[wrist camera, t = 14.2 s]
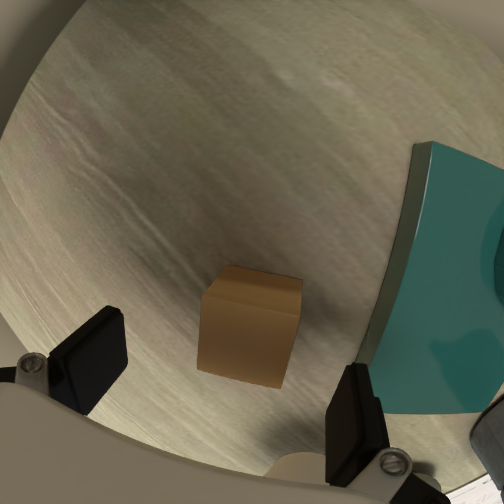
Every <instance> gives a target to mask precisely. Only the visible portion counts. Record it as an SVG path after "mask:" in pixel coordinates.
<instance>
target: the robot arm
mask: <svg viewBox="0 0 504 504" xmlns="http://www.w3.org/2000/svg"><path fill="white" fill-rule="evenodd" d="M49 355H50V356H49V357H48V358H46V356H44V355H43V354H41V353H35V352H33V353H28V354H25V355H24V356H22V357H21V358H20V359H19V360H18V363H17V366H16V367H3V368H0V504H451V502H450V500H449V498H448V497H447V496H446V495H445V494H443V493H441V492H440V491H438V490H437V489H435V488H434V487H432V486H431V485H429V484H428V483H426V482H425V481H423V480H422V479H420V478H419V477H418V476H416V475H415V474H413V473H412V472H411V470H412V466H413V463H412V460H411V458H410V456H409V455H408V454H407V453H406V452H405V451H403V450H401V449H399V448H394V447H391V448H390V443H389V438H388V433H387V428H386V423H385V418H384V414H383V409H382V405H381V401H380V398H379V397H374V393H373V388H372V384H371V380H370V375H369V371H368V367H367V364H364V363H356V362H352V364H351V365H347V366H346V368H345V370H344V372H343V375H342V377H341V379H340V382H339V384H338V386H337V389H336V391H335V393H334V395H333V397H332V400H331V402H330V404H329V406H328V408H327V411H326V415H325V482H326V483H329V486H327V485H319V484H311V483H302V482H294V481H287V480H280V479H274V478H268V477H262V476H257V475H252V474H247V473H242V472H237V471H233V470H228V469H224V468H220V467H216V466H212V465H209V464H205V463H202V462H198V461H195V460H191V459H188V458H185V457H182V456H179V455H175V454H172V453H170V452H167V451H164V450H161V449H158V448H155V447H153V446H150V445H148V444H145V443H142V442H140V441H137V440H135V439H133V438H130V437H128V436H125V435H123V434H121V433H119V432H116V431H114V430H112V429H110V428H108V427H105V426H103V425H101V424H99V423H97V422H95V421H93V420H91V419H89V418H87V417H85V416H84V415H86V416H87V415H88V414H89V413H90V412H91V411H92V409H93V408H94V407H95V406H96V404H97V403H98V402H99V401H100V399H101V398H102V397H103V396H104V394H105V393H106V392H107V391H108V389H109V388H110V387H111V386H112V384H113V383H114V382H115V381H116V380H117V378H118V377H119V376H120V375H121V373H122V372H123V371H124V370H125V369H126V367H127V364H128V357H127V348H126V338H125V328H124V316H123V314H122V313H121V311H120V309H118V308H115V307H112V306H109V305H107V306H105V307H104V308H103V309H101V310H100V311H99V312H98V313H97V314H95V315H94V316H93V317H92V318H90V319H89V320H88V321H87V322H85V323H84V324H83V325H82V326H81V327H79V328H78V329H77V330H76V331H75V332H73V333H72V334H71V335H70V336H69V337H67V338H66V339H65V340H64V341H63V342H61V343H60V344H59V345H58V346H57V347H56V348H54V349H53V350H52V351H51V352H50V353H49Z"/></svg>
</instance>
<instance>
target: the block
mask: <svg viewBox="0 0 504 504" xmlns="http://www.w3.org/2000/svg"><path fill="white" fill-rule="evenodd" d="M302 284H303V281H302V280H300V279H295V278H290V277H285V276H280V275H275V274H270V273H265V272H260V271H256V270H251V269H246V268H241V267H236V266H231V265H227V266H226V267H225V268H224V269H223V270H222V272H221V273H220V274H219V275H218V277H217V278H216V279H215V280H214V282H213V283H212V284H211V285H210V286H209V288H208V289H207V290H206V291H205V293H204V294H203V295H202V304H201V316H200V328H199V341H198V356H197V369H198V370H201V371H204V372H208V373H212V374H215V375H219V376H223V377H227V378H231V379H235V380H239V381H244V382H248V383H252V384H257V385H262V386H266V387H271V388H276V389H281V386H282V383H283V380H284V376H285V373H286V369H287V366H288V362H289V359H290V355H291V351H292V348H293V344H294V340H295V337H296V333H297V329H298V325H299V321H300V318H301V303H302Z"/></svg>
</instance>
